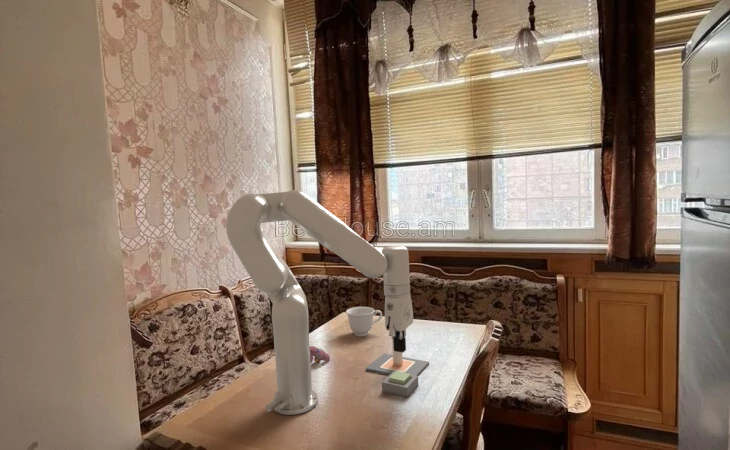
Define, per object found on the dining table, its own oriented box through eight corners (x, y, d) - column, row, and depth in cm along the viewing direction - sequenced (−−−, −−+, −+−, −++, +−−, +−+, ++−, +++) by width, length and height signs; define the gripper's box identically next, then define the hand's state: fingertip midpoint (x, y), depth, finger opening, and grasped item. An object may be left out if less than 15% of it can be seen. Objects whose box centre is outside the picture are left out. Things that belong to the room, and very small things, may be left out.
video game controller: (302, 364, 140) (296, 350, 137) (308, 354, 143) (302, 340, 140) (326, 368, 136) (320, 354, 132) (332, 358, 139) (326, 344, 136)
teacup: (383, 338, 157) (382, 314, 157) (345, 339, 158) (344, 315, 157) (382, 328, 169) (381, 305, 169) (347, 329, 170) (346, 307, 169)
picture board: (413, 380, 121) (413, 377, 121) (365, 370, 129) (365, 367, 129) (429, 364, 132) (429, 361, 132) (384, 355, 141) (384, 353, 140)
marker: (400, 367, 128) (399, 337, 127) (390, 365, 130) (389, 336, 129) (404, 363, 131) (403, 334, 130) (395, 361, 133) (394, 332, 132)
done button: (404, 387, 112) (404, 380, 112) (389, 384, 115) (389, 377, 115) (411, 380, 117) (410, 373, 116) (396, 377, 119) (396, 370, 119)
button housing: (407, 398, 110) (407, 387, 110) (382, 392, 114) (381, 382, 114) (418, 385, 117) (418, 376, 117) (394, 380, 121) (393, 371, 121)
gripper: (397, 296, 105) (400, 363, 107) (419, 284, 118) (421, 343, 120) (373, 294, 109) (376, 358, 111) (396, 282, 122) (399, 340, 123)
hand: (399, 350), depth 115 cm, fingers closed
